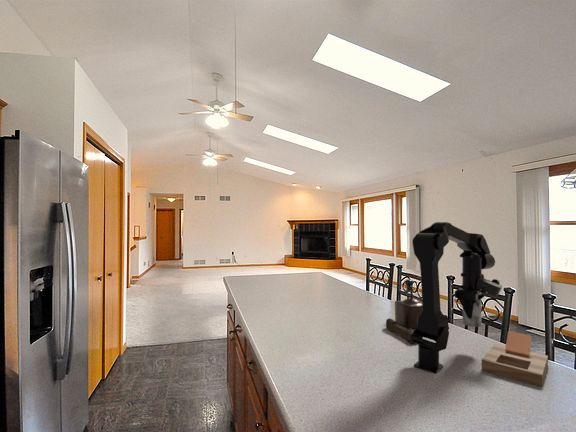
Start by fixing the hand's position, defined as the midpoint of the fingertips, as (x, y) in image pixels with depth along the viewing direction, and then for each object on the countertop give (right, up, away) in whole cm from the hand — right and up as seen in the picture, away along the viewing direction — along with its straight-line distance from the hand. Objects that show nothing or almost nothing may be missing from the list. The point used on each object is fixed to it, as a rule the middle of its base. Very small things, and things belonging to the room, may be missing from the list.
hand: (471, 316), depth 111 cm
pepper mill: (-10, -13, +30) cm, 34 cm away
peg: (0, -3, 0) cm, 3 cm away
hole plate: (+5, -11, -14) cm, 18 cm away
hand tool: (-20, -12, +14) cm, 27 cm away
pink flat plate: (+10, -6, -9) cm, 14 cm away
